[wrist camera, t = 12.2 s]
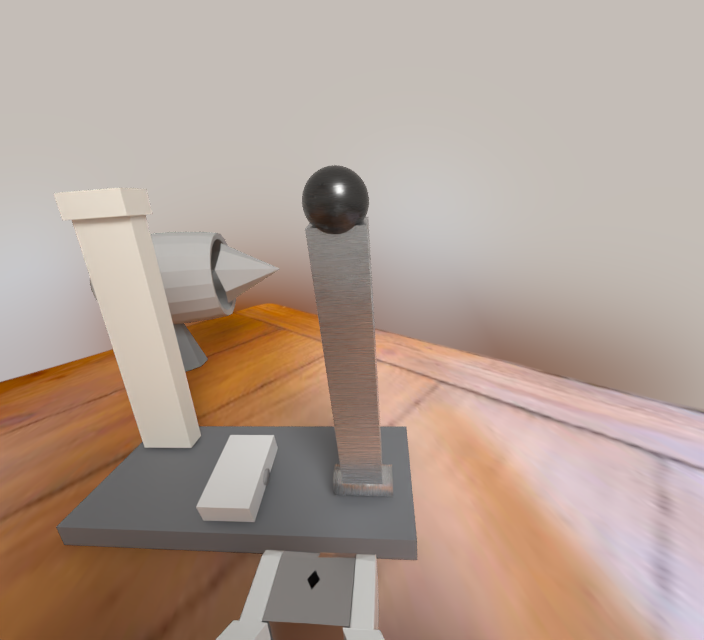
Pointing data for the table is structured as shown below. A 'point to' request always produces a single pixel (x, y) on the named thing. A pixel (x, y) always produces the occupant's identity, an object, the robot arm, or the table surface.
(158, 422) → the beige rectangular bar
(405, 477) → the console
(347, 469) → the steel toggle lever
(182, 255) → the jet engine
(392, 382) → the table surface
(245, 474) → the block
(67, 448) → the table surface
